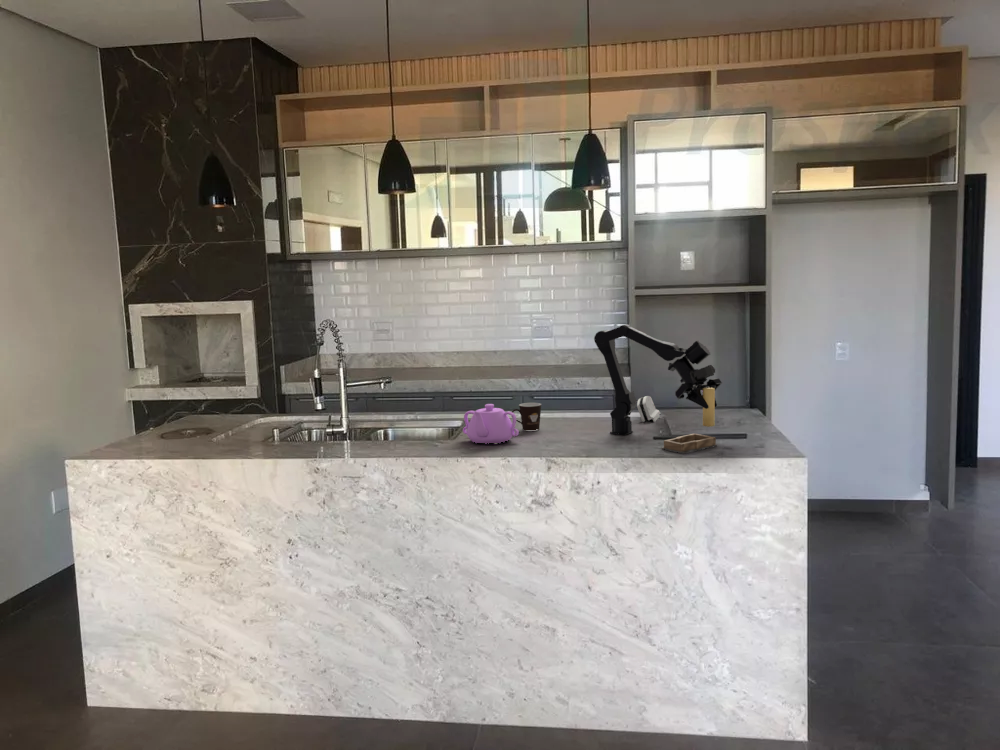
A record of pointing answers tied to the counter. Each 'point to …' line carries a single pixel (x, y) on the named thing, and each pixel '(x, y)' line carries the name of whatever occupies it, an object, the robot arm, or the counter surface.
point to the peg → (709, 407)
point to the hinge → (647, 409)
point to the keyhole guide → (689, 443)
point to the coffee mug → (529, 415)
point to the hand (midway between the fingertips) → (711, 407)
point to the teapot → (490, 425)
